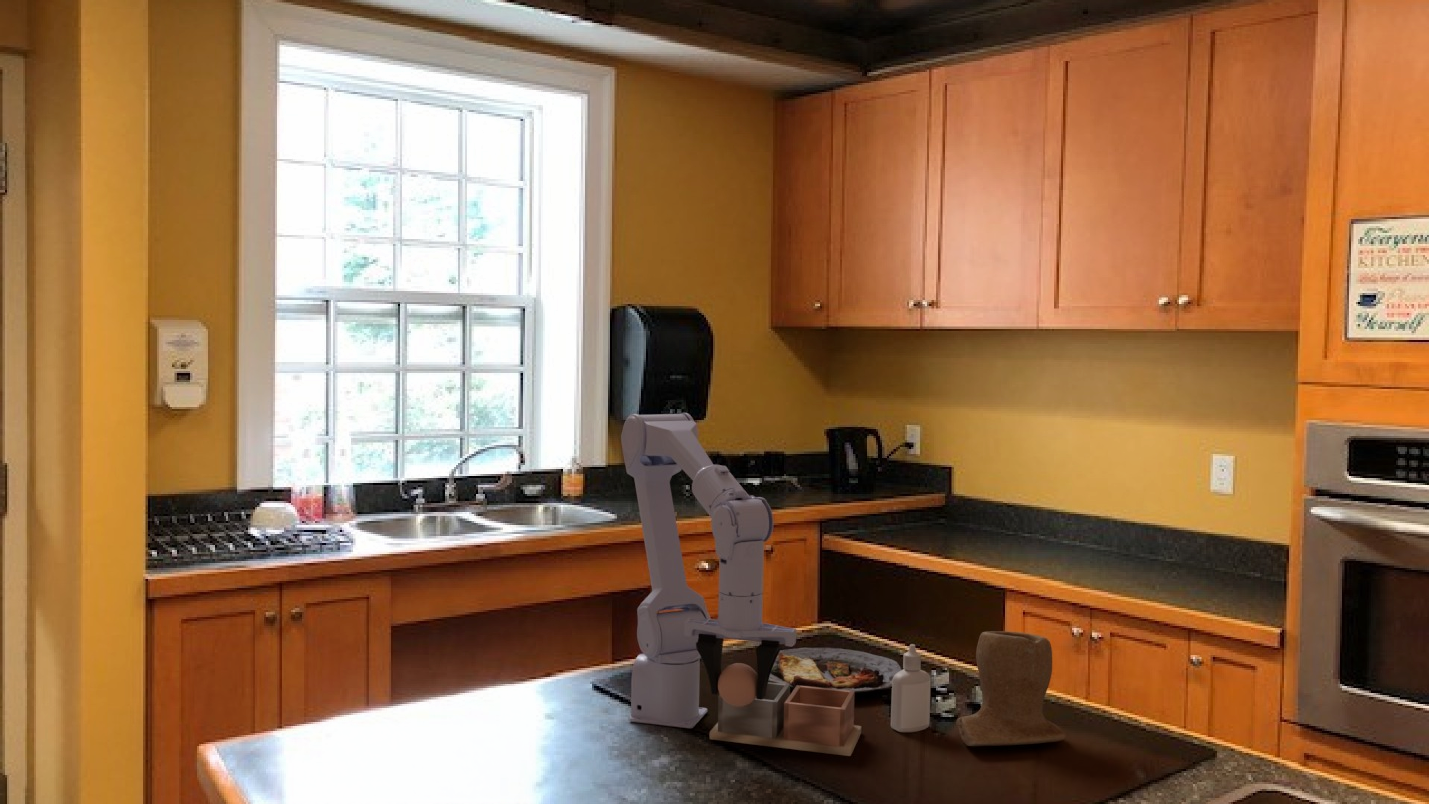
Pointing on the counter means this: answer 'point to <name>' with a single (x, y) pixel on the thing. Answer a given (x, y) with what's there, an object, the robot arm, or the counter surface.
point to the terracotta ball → (738, 684)
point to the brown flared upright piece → (1011, 692)
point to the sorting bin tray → (792, 720)
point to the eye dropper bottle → (910, 695)
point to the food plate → (833, 669)
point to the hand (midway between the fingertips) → (738, 694)
